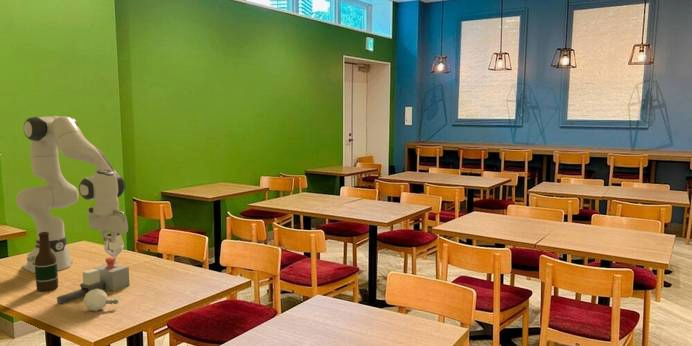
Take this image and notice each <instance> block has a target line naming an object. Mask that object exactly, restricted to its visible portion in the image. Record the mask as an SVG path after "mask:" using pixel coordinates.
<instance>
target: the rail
mask: <svg viewBox="0 0 692 346" xmlns="http://www.w3.org/2000/svg"><path fill="white" fill-rule="evenodd" d="M104 289H105V283H103V291H104ZM105 290H106V289H105ZM86 293H88V289H87V288H83V289H81V288H80V289H78V290H75V291H72V292H68V293H66V294H63V295H59V296H57V297H56V303H58V305H61V304H62V305H64V303H65V304H68V303H70V302H73V301H75V300H78V298H79V299H81V297H82V298H84V296H85V295H86Z"/></svg>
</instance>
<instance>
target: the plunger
mask: <svg viewBox="0 0 692 346" xmlns="http://www.w3.org/2000/svg"><path fill="white" fill-rule="evenodd" d="M114 262H115V258H113V257H112V256H111V257H106V258H105V264H107V269H113V268H114Z"/></svg>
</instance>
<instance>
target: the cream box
mask: <svg viewBox="0 0 692 346" xmlns="http://www.w3.org/2000/svg"><path fill="white" fill-rule="evenodd" d="M79 286H80V289H83V288H87V289H88V292H89V291H91V290H94V289H100V290H103V282H102V281H100V270H98V269H93V268H90V269H88V270H84V271H82V283H80V284H79ZM103 291H104V290H103Z"/></svg>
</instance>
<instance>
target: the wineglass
mask: <svg viewBox="0 0 692 346" xmlns="http://www.w3.org/2000/svg"><path fill="white" fill-rule="evenodd" d="M107 237H109V238H111V233H108V234H107ZM109 241H110V240H109ZM109 241H107V242H106V241H104V244H103V245H104V246H103V248H104V251H105V253H107V254H108V255H110V256H111V257H113V258H115V262H114V264H117V257H118V256H119V255H120V254H121V253H122V251H123V250H124V248H125V244H124V241H123V238H122V234H118V233H117V236H116V238H115V242H114V243H111V242H109Z"/></svg>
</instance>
